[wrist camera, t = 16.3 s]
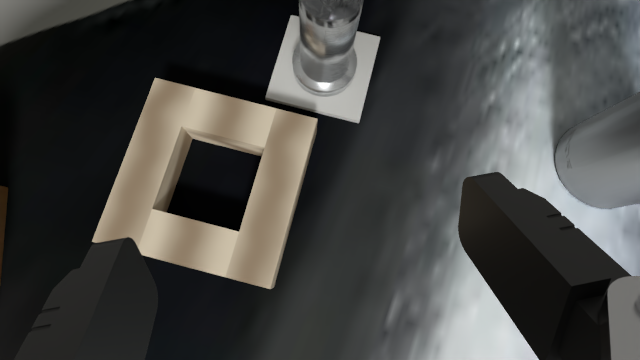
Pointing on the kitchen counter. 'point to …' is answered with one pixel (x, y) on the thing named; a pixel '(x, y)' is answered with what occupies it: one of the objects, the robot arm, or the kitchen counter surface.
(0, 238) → the bread
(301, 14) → the steel plug
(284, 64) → the grey rubber pad
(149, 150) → the frame
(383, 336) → the kitchen counter surface
